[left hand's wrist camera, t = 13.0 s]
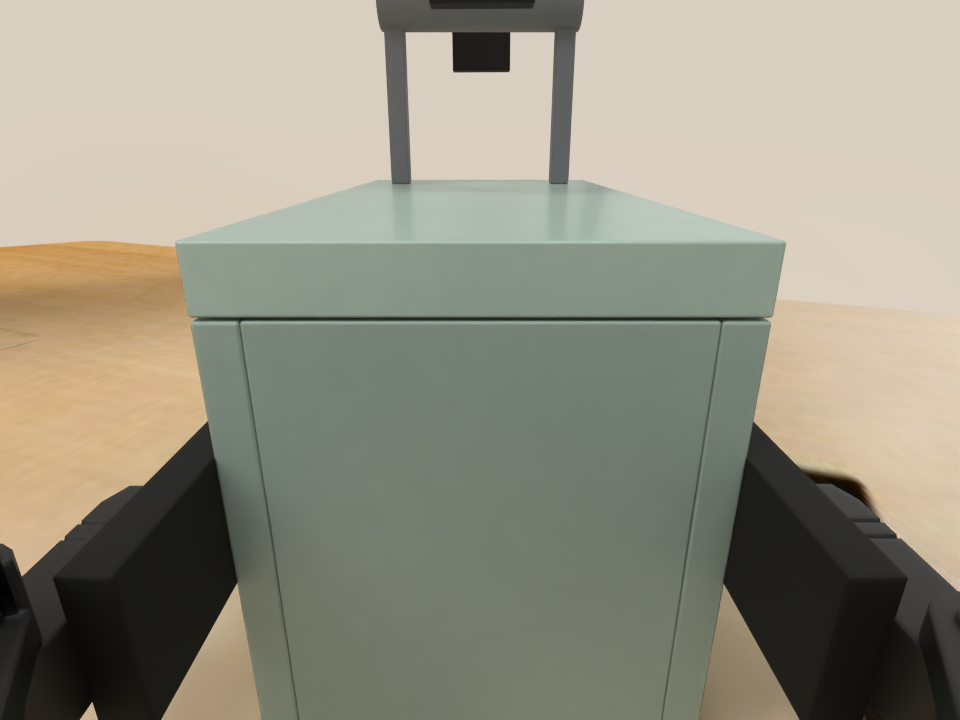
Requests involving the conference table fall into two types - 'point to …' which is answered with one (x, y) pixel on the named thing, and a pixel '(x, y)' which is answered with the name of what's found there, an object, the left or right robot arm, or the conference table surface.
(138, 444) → the conference table surface
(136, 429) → the conference table surface
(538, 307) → the lid
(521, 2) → the right robot arm
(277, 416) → the chest
